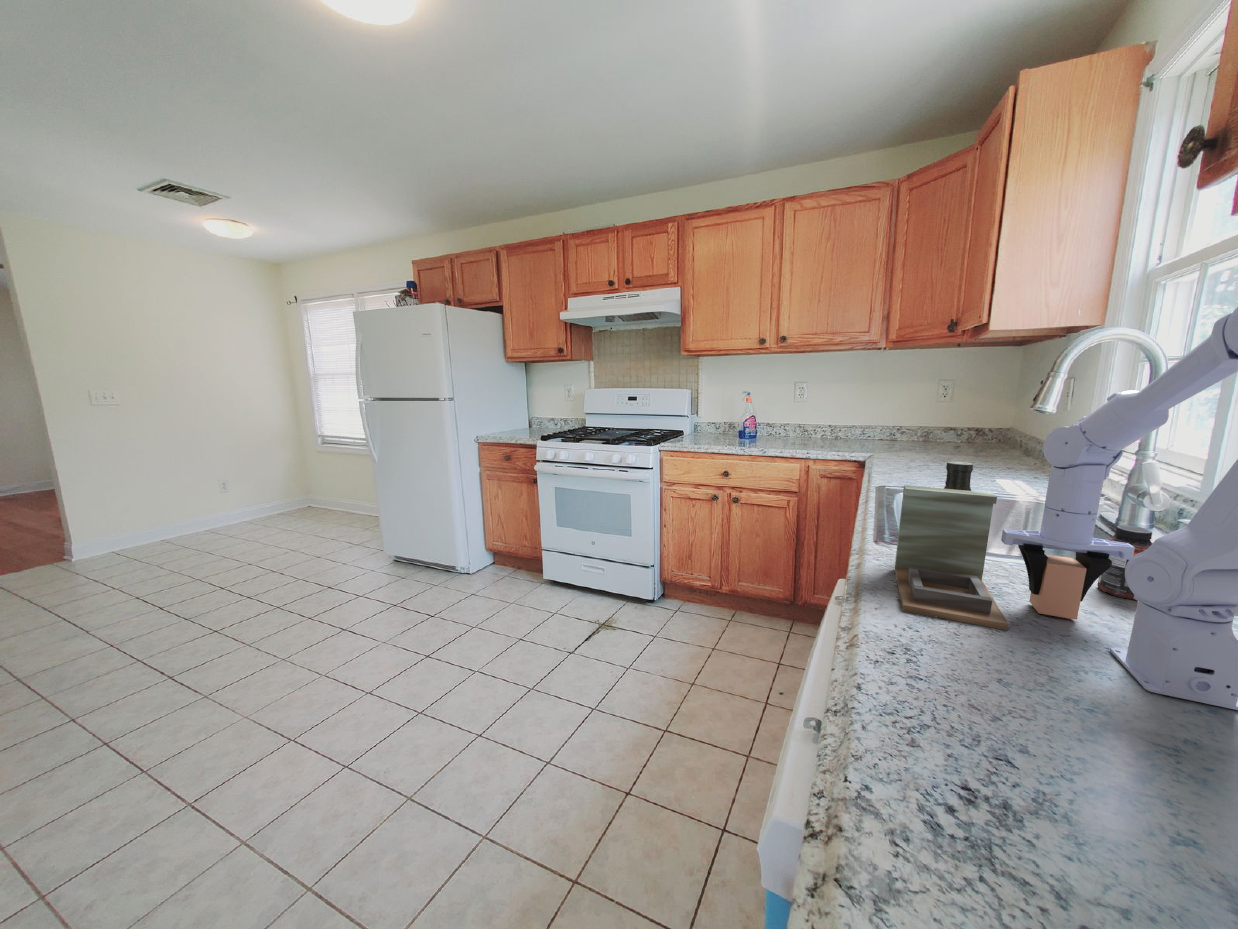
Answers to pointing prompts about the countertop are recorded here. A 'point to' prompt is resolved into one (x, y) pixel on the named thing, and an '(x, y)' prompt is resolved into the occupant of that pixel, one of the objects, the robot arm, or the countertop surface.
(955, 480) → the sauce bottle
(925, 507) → the socket stand
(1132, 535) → the supplement bottle
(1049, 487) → the robot arm
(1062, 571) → the peg
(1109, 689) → the countertop surface
